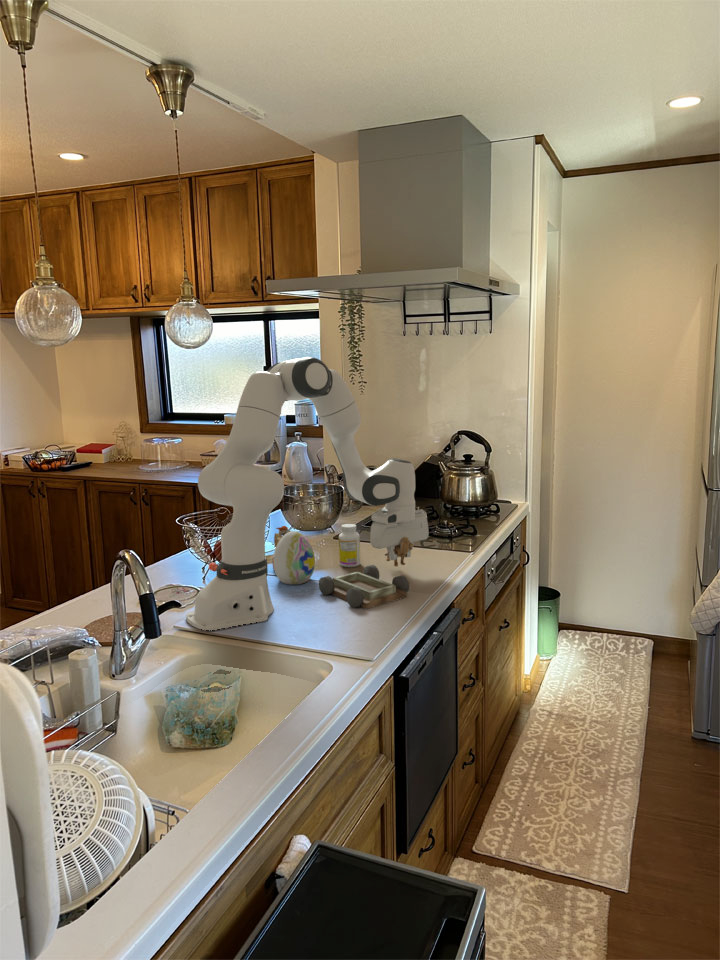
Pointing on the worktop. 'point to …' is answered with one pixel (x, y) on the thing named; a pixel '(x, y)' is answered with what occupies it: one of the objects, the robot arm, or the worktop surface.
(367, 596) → the toy car chassis
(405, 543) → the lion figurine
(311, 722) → the worktop surface
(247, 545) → the robot arm
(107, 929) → the worktop surface
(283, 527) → the toy helicopter
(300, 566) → the decorative egg
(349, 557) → the supplement bottle
